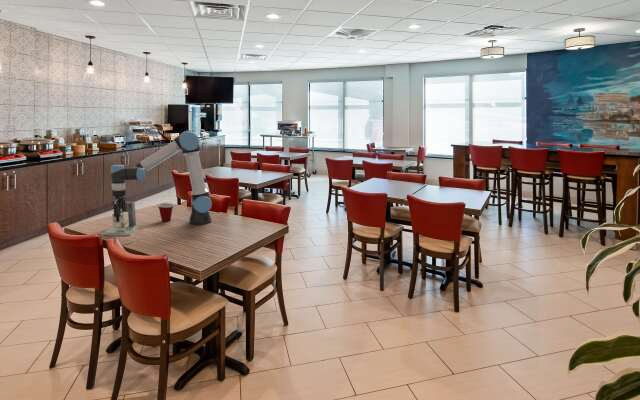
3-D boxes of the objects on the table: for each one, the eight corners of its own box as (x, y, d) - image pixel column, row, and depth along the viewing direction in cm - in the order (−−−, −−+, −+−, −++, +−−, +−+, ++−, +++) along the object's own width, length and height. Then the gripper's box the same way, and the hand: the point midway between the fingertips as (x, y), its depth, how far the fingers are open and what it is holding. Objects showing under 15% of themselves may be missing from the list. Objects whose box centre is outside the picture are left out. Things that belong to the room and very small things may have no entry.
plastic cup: (169, 223, 283) (168, 206, 281) (155, 222, 285) (154, 205, 283) (177, 219, 293) (176, 203, 291) (164, 218, 296) (163, 202, 293)
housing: (128, 225, 262) (127, 208, 260) (124, 228, 255) (123, 210, 253) (117, 225, 261) (116, 207, 259) (113, 228, 255) (111, 210, 252)
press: (144, 224, 278) (142, 201, 275) (130, 235, 252) (128, 210, 249) (119, 224, 276) (118, 201, 273) (103, 235, 250) (101, 210, 247)
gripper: (118, 186, 263) (121, 221, 268) (105, 192, 244) (108, 229, 248) (130, 187, 264) (132, 221, 268) (118, 192, 244) (121, 229, 249)
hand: (121, 225), depth 258 cm, fingers closed on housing, 7 cm apart
